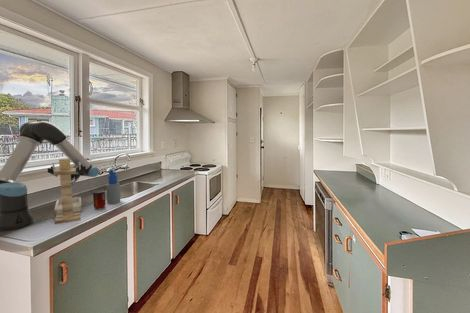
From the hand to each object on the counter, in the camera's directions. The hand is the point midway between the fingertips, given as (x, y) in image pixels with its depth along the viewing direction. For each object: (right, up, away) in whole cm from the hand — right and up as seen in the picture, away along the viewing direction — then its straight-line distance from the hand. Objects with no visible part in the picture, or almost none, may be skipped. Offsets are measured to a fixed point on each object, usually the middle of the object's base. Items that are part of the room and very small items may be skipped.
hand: (66, 164), depth 143 cm
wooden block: (+2, -2, -4) cm, 5 cm away
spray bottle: (+16, -30, +26) cm, 43 cm away
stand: (+6, -33, -7) cm, 34 cm away
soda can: (+13, -31, +13) cm, 36 cm away
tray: (-7, -31, +12) cm, 34 cm away
